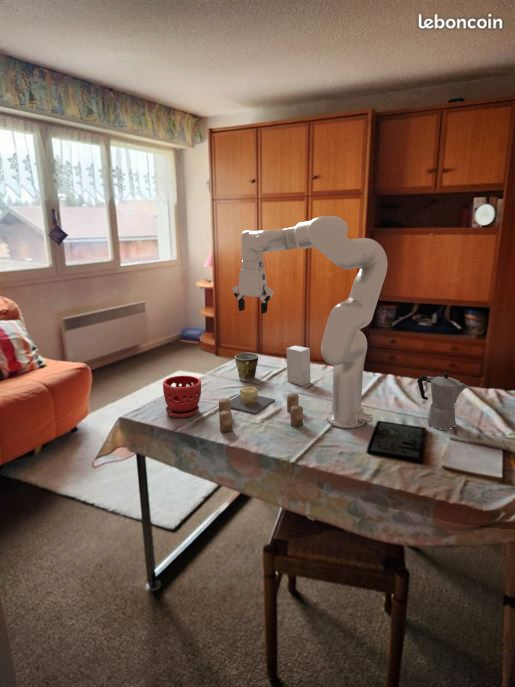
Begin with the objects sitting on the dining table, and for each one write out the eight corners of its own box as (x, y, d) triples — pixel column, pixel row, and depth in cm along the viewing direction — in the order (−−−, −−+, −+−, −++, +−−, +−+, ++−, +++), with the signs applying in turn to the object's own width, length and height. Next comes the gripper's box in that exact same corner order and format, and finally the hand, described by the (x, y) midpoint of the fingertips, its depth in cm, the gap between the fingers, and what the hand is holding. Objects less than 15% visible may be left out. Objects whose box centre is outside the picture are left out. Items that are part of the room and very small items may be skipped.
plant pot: (187, 423, 153) (185, 390, 150) (157, 415, 159) (154, 383, 156) (209, 409, 164) (208, 377, 161) (180, 402, 170) (178, 372, 167)
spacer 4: (304, 423, 152) (305, 407, 150) (299, 428, 149) (299, 411, 147) (293, 421, 154) (294, 404, 152) (288, 425, 151) (288, 408, 149)
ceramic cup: (234, 375, 198) (233, 353, 196) (257, 374, 200) (257, 352, 197) (236, 385, 186) (235, 362, 183) (260, 384, 187) (260, 361, 184)
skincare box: (310, 382, 189) (311, 348, 184) (301, 386, 184) (301, 351, 180) (295, 377, 194) (295, 344, 190) (285, 381, 190) (286, 347, 186)
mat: (274, 400, 171) (274, 399, 171) (255, 414, 159) (255, 412, 159) (243, 393, 178) (243, 392, 178) (222, 406, 166) (222, 404, 166)
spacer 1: (233, 416, 158) (232, 400, 157) (226, 420, 155) (226, 404, 153) (223, 413, 160) (223, 397, 158) (216, 418, 157) (216, 401, 155)
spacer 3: (300, 410, 162) (300, 394, 161) (295, 414, 159) (295, 398, 157) (290, 408, 164) (290, 392, 163) (285, 412, 161) (285, 396, 159)
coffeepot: (465, 423, 151) (472, 372, 146) (458, 434, 143) (465, 381, 138) (418, 412, 159) (422, 363, 154) (409, 422, 152) (414, 371, 147)
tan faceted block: (247, 397, 172) (247, 385, 171) (259, 400, 170) (259, 388, 168) (238, 403, 167) (237, 390, 166) (250, 406, 164) (250, 393, 163)
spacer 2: (234, 429, 149) (234, 412, 147) (227, 434, 145) (227, 416, 144) (224, 426, 151) (224, 409, 149) (217, 431, 147) (216, 414, 146)
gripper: (278, 265, 164) (278, 312, 169) (237, 263, 173) (238, 307, 177) (267, 267, 158) (267, 316, 163) (226, 265, 166) (227, 311, 171)
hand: (252, 311), depth 170 cm, fingers open, 9 cm apart
